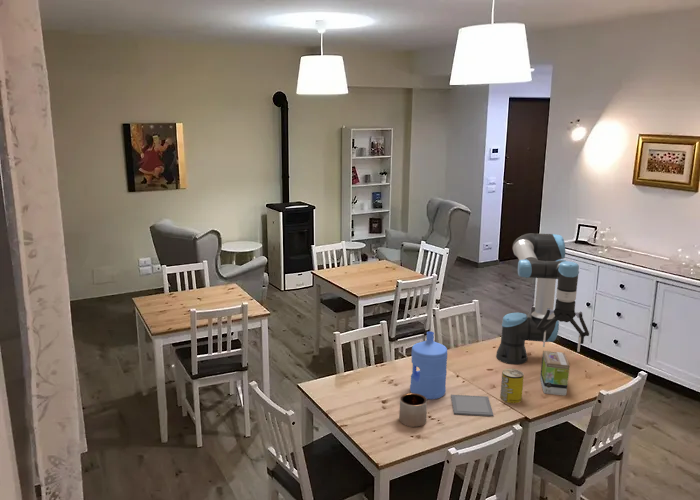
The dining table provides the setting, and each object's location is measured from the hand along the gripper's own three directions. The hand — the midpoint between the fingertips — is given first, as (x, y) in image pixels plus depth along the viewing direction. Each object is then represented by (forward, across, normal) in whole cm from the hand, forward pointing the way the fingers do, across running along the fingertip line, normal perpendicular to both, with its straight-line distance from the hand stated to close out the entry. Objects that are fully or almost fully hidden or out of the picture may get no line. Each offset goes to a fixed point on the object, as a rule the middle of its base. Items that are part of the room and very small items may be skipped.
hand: (560, 348), depth 241 cm
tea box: (+26, -1, +18) cm, 32 cm away
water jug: (+26, -54, -7) cm, 60 cm away
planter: (+26, -54, -34) cm, 69 cm away
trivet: (+26, -34, -14) cm, 44 cm away
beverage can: (+26, -18, 0) cm, 32 cm away
